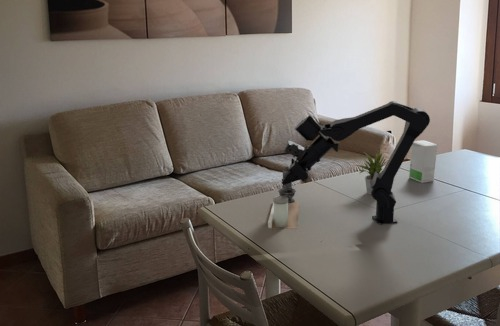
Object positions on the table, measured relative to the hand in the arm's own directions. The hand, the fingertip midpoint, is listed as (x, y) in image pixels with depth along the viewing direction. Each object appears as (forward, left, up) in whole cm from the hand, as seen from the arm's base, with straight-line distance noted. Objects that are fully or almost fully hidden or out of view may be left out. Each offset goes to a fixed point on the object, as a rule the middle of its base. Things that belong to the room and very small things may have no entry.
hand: (282, 182), depth 182 cm
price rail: (+1, +3, -13) cm, 13 cm away
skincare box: (+28, -65, -13) cm, 72 cm away
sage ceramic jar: (-9, +3, -11) cm, 15 cm away
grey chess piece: (0, -1, -7) cm, 7 cm away
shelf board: (0, -1, -13) cm, 13 cm away
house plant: (+18, -40, -13) cm, 46 cm away
